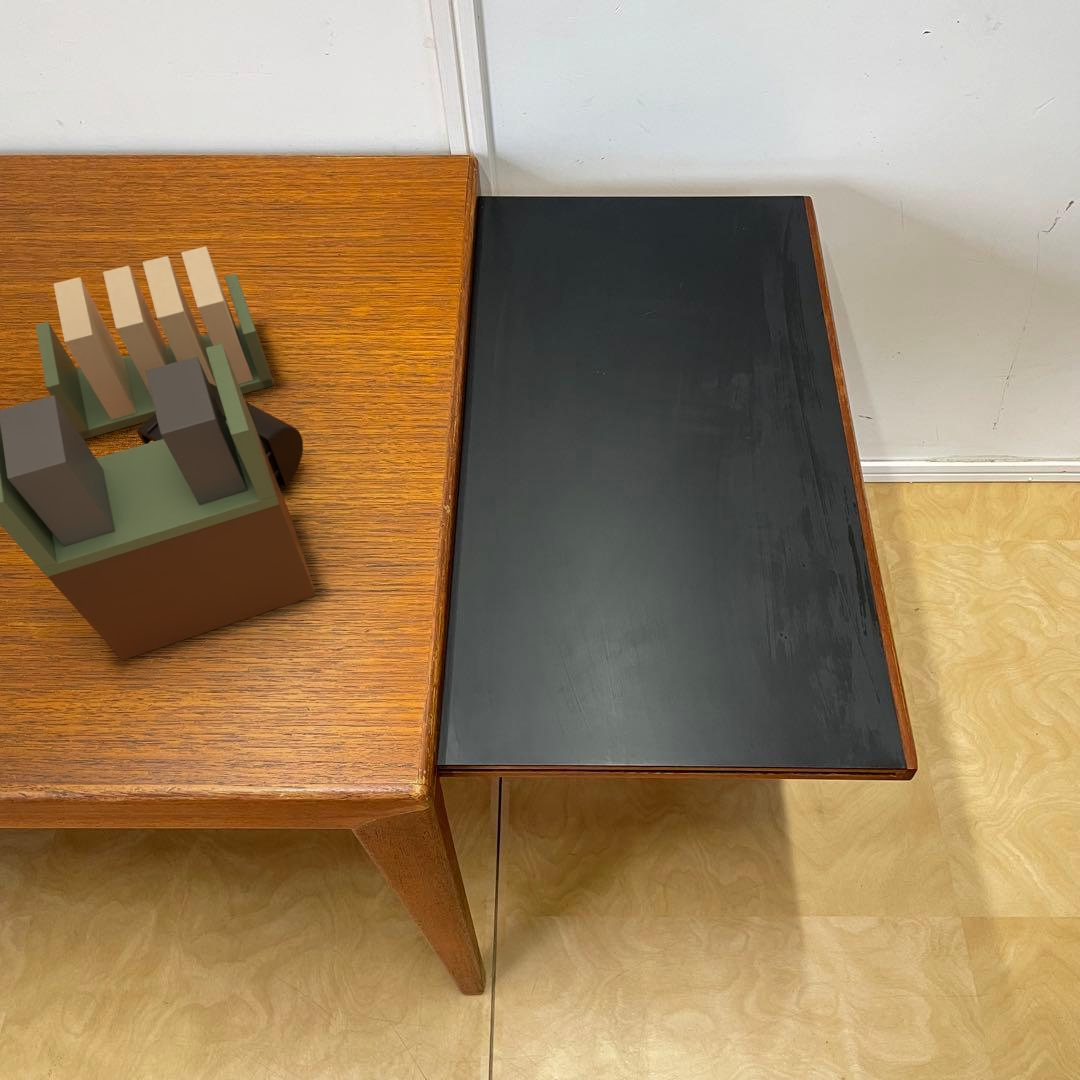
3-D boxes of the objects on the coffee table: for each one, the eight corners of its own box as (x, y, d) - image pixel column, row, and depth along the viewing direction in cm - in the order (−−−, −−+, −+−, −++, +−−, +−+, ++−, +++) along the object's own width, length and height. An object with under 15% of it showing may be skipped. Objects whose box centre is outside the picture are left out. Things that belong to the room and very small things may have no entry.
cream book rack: (81, 440, 75) (24, 355, 66) (69, 379, 78) (14, 291, 70) (274, 385, 78) (244, 297, 70) (255, 329, 81) (224, 239, 73)
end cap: (312, 465, 74) (295, 411, 68) (254, 529, 70) (230, 477, 65) (217, 414, 76) (192, 358, 71) (157, 473, 73) (126, 419, 67)
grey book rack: (122, 660, 65) (-22, 501, 48) (107, 580, 68) (-33, 404, 51) (316, 595, 68) (246, 423, 51) (292, 521, 71) (219, 337, 54)
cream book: (111, 420, 75) (64, 341, 67) (99, 364, 78) (53, 283, 70) (136, 413, 75) (92, 334, 67) (123, 357, 78) (80, 276, 70)
